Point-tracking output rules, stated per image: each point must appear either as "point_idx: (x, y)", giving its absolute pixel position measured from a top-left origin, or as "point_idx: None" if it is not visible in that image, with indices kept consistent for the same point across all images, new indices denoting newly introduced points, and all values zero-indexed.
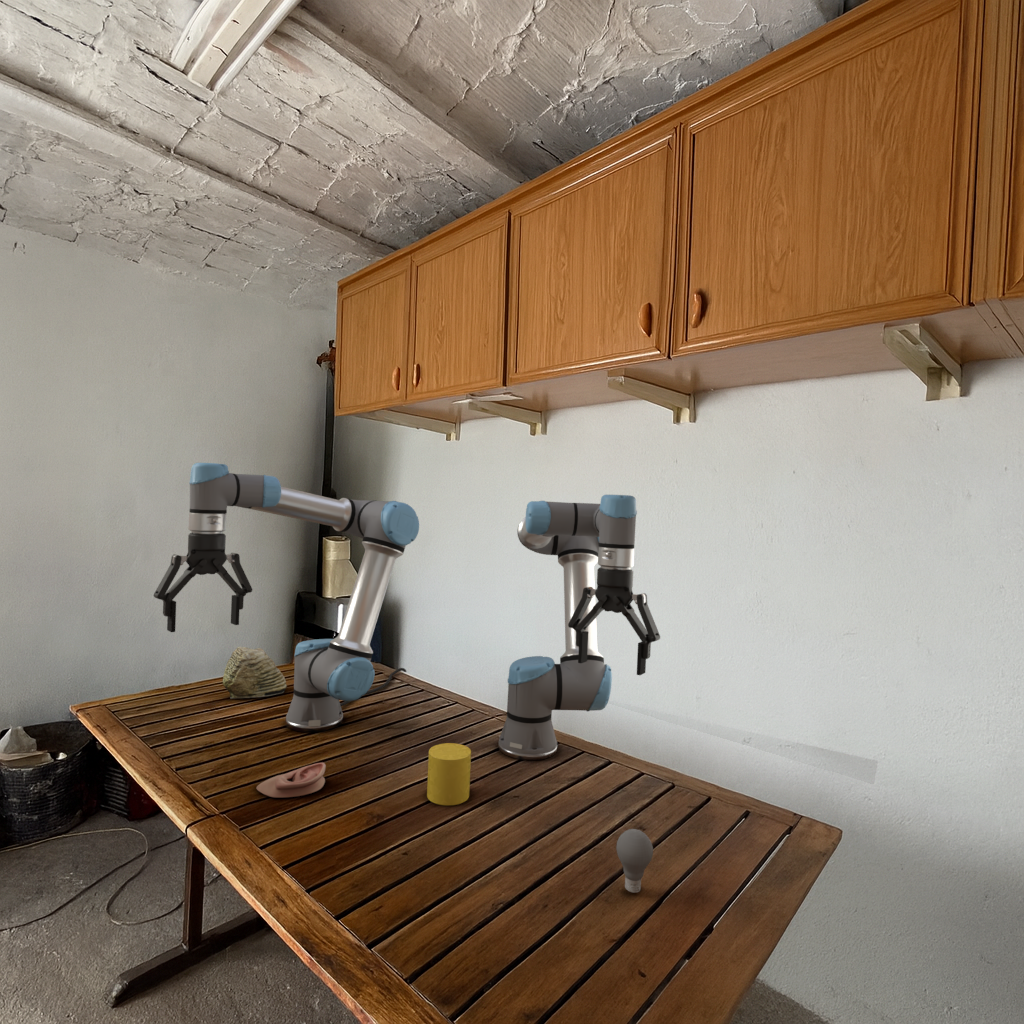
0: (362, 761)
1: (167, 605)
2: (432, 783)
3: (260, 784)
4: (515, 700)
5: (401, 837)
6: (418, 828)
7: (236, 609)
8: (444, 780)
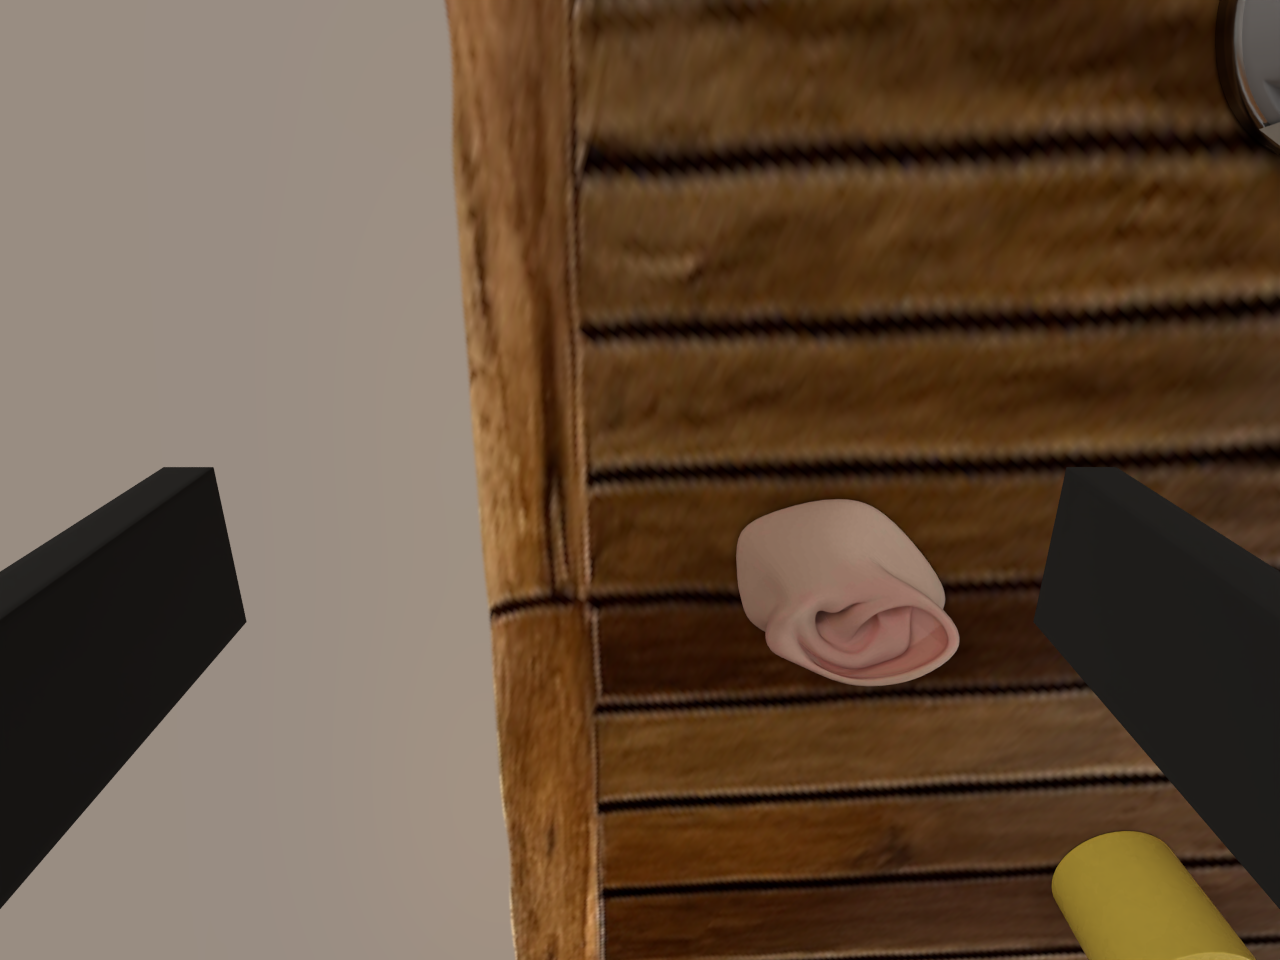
0: None
1: None
2: (1079, 923)
3: (753, 542)
4: None
5: (868, 943)
6: (925, 939)
7: (1176, 781)
8: None
